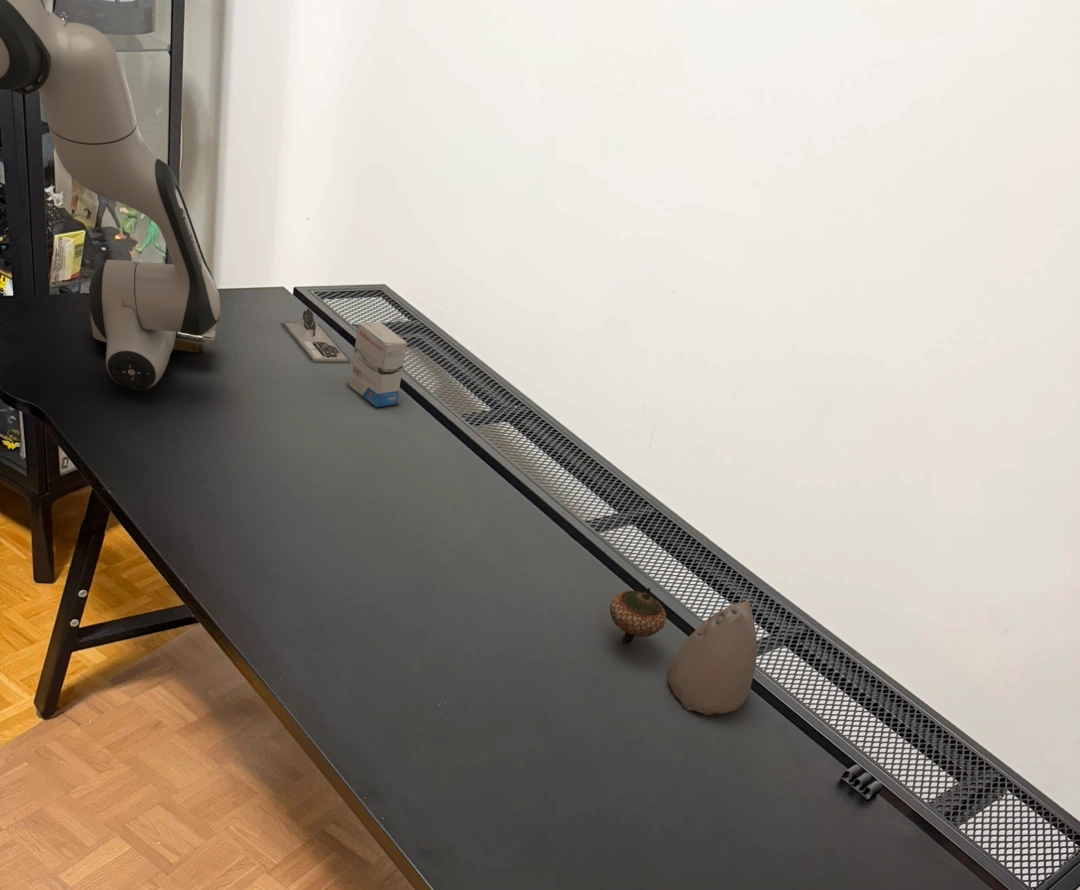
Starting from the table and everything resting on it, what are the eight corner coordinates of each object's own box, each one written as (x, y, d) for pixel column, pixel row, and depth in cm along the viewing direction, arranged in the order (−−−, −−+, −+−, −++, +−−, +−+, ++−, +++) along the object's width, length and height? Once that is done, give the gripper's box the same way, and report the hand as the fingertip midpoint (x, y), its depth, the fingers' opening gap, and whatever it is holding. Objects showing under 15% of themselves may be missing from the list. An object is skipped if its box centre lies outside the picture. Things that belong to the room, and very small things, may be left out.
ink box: (398, 405, 183) (409, 342, 175) (375, 408, 180) (385, 344, 172) (370, 382, 187) (380, 320, 179) (347, 385, 183) (356, 321, 176)
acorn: (610, 663, 142) (633, 606, 135) (589, 626, 147) (610, 569, 141) (661, 662, 145) (685, 606, 139) (639, 625, 150) (661, 570, 144)
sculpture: (662, 653, 147) (698, 567, 137) (738, 670, 149) (780, 587, 139) (668, 710, 137) (708, 623, 127) (750, 728, 139) (795, 643, 129)
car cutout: (284, 325, 195) (286, 301, 192) (316, 325, 199) (319, 303, 196) (314, 361, 187) (316, 337, 184) (347, 361, 191) (350, 338, 188)
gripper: (214, 324, 167) (223, 292, 177) (81, 298, 162) (98, 266, 172) (213, 360, 172) (221, 327, 182) (82, 336, 166) (99, 303, 176)
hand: (160, 297), depth 177 cm, fingers closed on supplement bottle, 5 cm apart
